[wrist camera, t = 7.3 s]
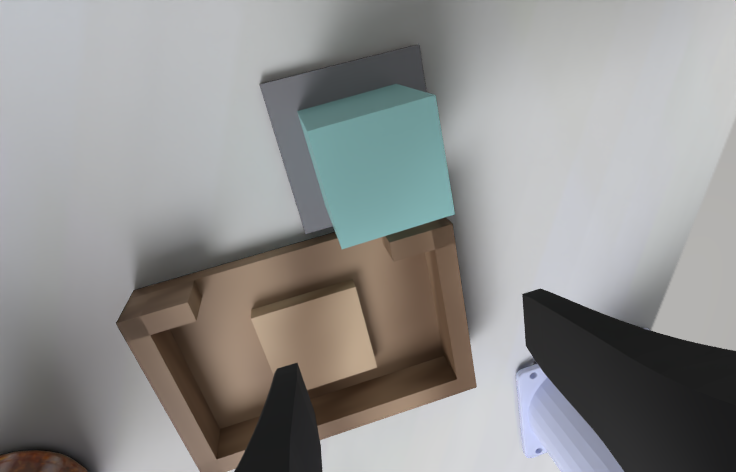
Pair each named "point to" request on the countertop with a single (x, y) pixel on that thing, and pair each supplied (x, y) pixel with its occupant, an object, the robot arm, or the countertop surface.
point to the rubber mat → (321, 89)
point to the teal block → (379, 162)
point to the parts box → (305, 336)
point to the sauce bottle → (38, 462)
